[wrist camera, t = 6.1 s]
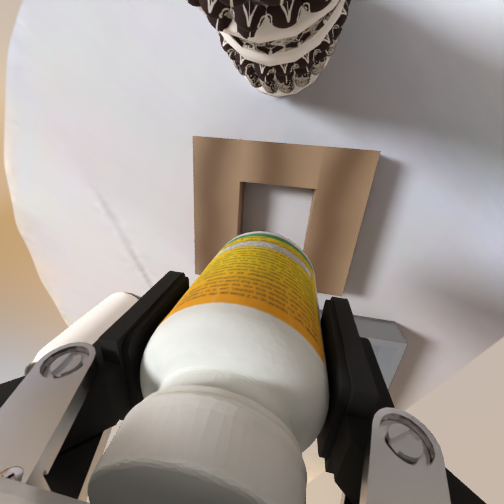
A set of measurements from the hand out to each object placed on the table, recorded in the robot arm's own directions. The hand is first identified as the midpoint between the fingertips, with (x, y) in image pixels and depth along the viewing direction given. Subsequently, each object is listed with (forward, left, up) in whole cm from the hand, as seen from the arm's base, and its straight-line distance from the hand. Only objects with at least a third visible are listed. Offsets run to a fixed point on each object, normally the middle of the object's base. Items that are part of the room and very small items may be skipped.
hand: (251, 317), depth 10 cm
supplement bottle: (0, 0, -4) cm, 4 cm away
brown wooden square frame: (0, 0, -17) cm, 17 cm away
